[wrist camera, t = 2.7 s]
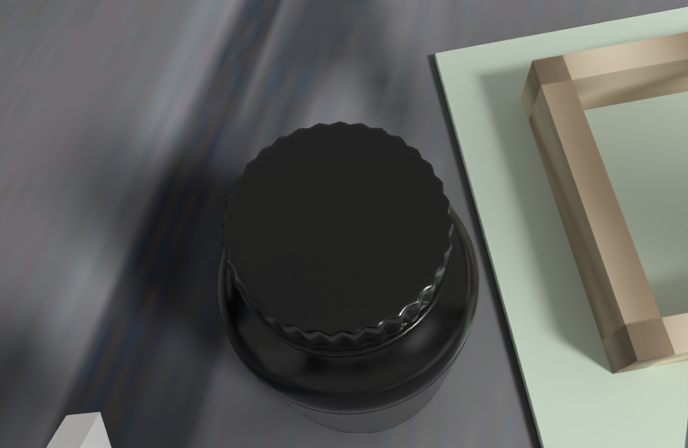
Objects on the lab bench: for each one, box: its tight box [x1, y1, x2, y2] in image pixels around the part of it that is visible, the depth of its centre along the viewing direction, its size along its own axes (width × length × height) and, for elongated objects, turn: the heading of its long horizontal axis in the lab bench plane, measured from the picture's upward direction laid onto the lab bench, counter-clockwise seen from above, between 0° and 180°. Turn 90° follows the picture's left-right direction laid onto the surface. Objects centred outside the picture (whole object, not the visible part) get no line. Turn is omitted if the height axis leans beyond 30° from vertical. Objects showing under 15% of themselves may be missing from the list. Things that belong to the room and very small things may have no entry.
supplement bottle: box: [217, 122, 479, 433], centre depth 18 cm, size 7×7×12 cm
